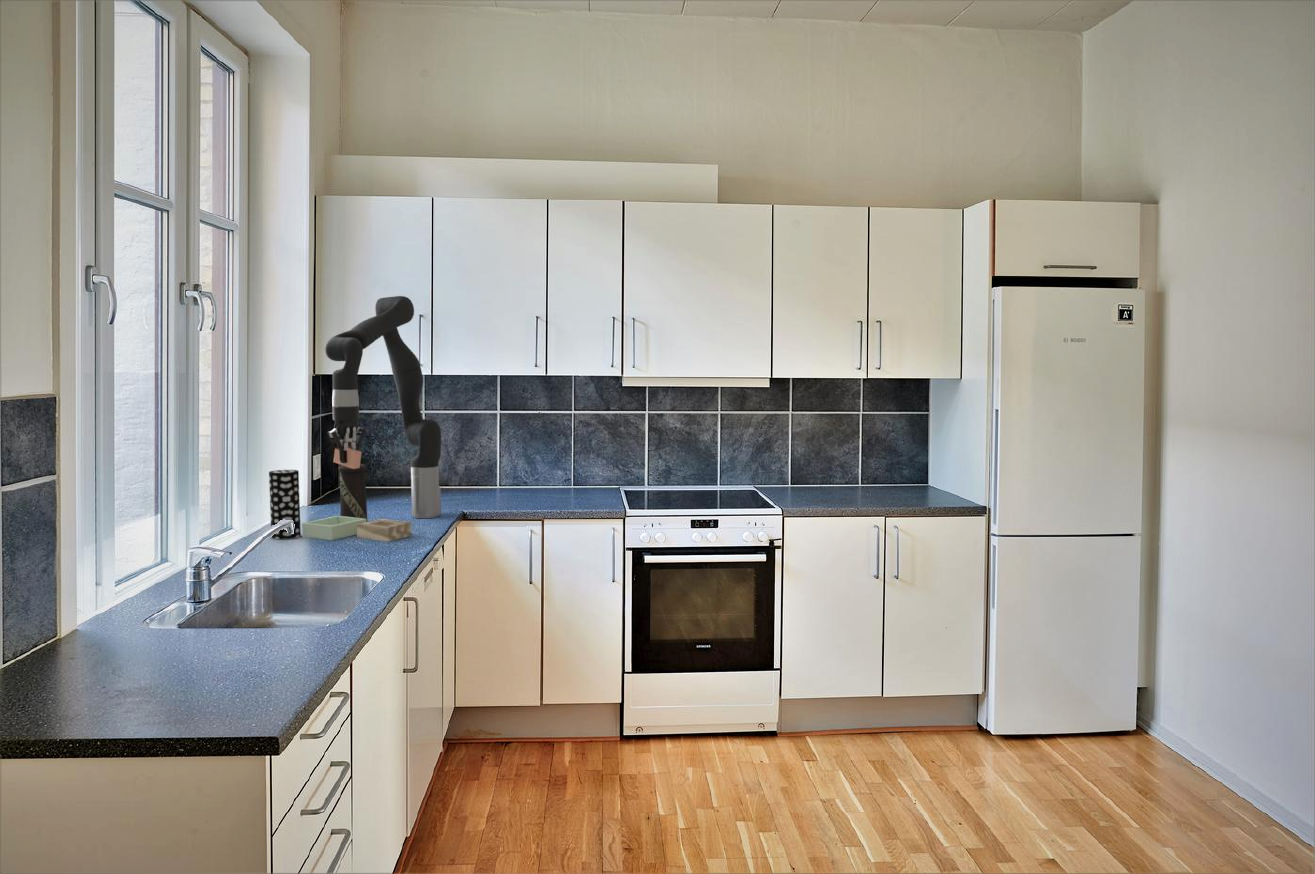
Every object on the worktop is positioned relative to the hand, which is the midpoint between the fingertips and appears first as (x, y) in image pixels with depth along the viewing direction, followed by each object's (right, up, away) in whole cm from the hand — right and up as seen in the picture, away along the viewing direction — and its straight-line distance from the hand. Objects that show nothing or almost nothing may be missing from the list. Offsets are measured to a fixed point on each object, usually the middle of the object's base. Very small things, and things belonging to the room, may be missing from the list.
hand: (347, 462), depth 275 cm
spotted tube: (-20, -23, +4) cm, 31 cm away
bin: (-5, -23, +3) cm, 24 cm away
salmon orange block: (-3, +3, +1) cm, 5 cm away
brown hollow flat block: (+11, -23, 0) cm, 26 cm away
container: (-6, -21, +24) cm, 32 cm away
